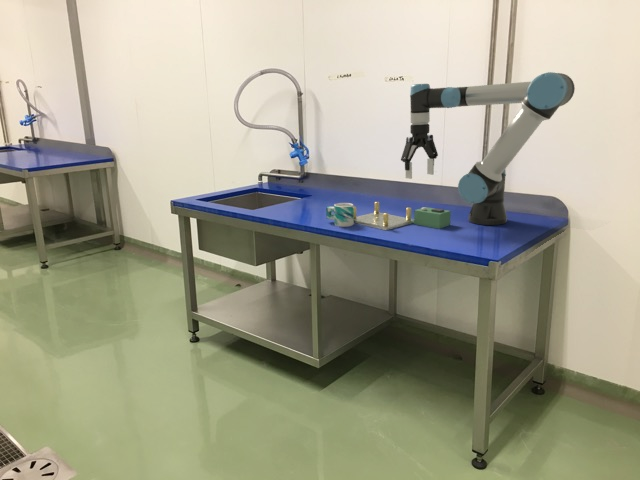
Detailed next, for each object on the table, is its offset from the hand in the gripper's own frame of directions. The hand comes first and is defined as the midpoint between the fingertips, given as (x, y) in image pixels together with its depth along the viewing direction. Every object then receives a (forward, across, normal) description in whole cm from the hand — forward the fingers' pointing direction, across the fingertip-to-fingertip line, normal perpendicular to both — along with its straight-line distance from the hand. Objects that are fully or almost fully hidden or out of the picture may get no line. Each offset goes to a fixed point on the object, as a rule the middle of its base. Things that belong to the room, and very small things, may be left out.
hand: (419, 176), depth 220 cm
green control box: (+19, +2, +8) cm, 21 cm away
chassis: (+18, +13, -10) cm, 25 cm away
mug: (+18, +27, -20) cm, 38 cm away
